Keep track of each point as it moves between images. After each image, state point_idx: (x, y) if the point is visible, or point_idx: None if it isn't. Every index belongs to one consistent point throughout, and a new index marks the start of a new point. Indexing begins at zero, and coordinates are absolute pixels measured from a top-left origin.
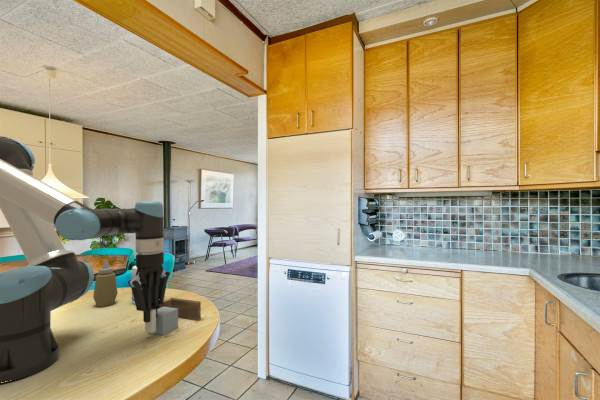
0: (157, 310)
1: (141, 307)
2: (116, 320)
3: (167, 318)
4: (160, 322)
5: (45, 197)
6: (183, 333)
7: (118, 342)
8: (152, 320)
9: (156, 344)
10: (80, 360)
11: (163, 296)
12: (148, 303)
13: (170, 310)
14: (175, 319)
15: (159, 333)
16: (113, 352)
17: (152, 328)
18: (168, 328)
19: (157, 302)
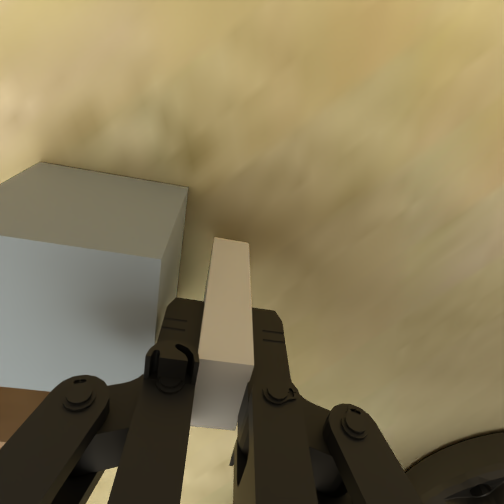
0: (74, 374)
1: (392, 465)
2: (108, 493)
3: (115, 225)
4: (172, 250)
5: None
6: (112, 39)
7: (308, 356)
8: (243, 296)
9: (316, 143)
10: (469, 377)
11: (3, 471)
12: (306, 473)
13: (16, 270)
14: (30, 191)
15: (184, 220)
16: (410, 310)
17: (244, 258)
18: (130, 188)
19: (150, 424)
